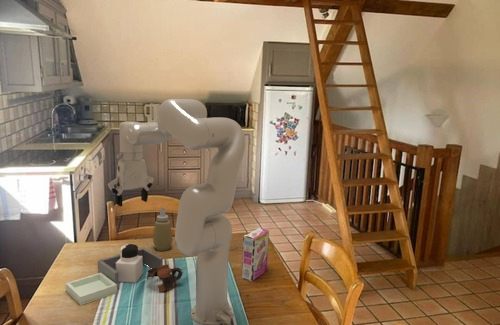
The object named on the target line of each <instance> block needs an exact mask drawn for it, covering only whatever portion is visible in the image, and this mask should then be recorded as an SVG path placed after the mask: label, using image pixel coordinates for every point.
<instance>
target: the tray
mask: <svg viewBox="0 0 500 325" xmlns="http://www.w3.org/2000/svg"><path fill="white" fill-rule="evenodd" d="M65 292H66V293H67V294H68V295H69V297H72V299H74V300H75V302H77V304H79V305H80V306H84V305H87V304H89V303H92V302H95V301H97V300H101V299H104V298H106V297H108V296H112V295H115V294H117V293H118V289H117V284H115V283H114V282H113V281H112V280H110V279H109V278H108V277H106V276H105V275H104V274H102V273H98V272H97V273H95V274H91V275H88V276H85V277H82V278H77V279H75V280H72V281H69V282H65Z"/></svg>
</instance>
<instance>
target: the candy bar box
mask: <svg viewBox="0 0 500 325" xmlns="http://www.w3.org/2000/svg"><path fill="white" fill-rule="evenodd" d="M269 234H270V230H269V229H265V228H259V227H258V228H256V229H254V230H252V231H250V232H248V233H246V234H245V235H243V239H242V256H241V257H242V260H241V262H242V263H241V279H244V280H246V281H249V282H254V281H255V280H256V279H258V278H259V277H260V276H261V275H262V274H264V273H265V272H266V271H267V270H268V253H269V236H270V235H269Z"/></svg>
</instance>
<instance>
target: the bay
mask: <svg viewBox="0 0 500 325" xmlns="http://www.w3.org/2000/svg"><path fill="white" fill-rule="evenodd" d="M138 256H142V257H143V263H144V264H146V265H148V266H149V267H150V268H152V269H153V268H156V267H159V266H163V265H164V263H163V262H164V260H163V259H164V258H163V257H161V256H159V255H158V254H156V253H154V252H153V251H150V250H149V249H147V248H145V247H142V248H138ZM119 259H120V254H117V255H112V256H109V257H106V258H103V259H98V260H97V273H102V274H104V275H105V276H106V277H108V278H109V279H110V280H112V281H113V282H114V283H115V284H117V290H120V289H119V287H120V286H119V285H120V284H119V281H118V272H117V271H116V262H117V261H118V260H119ZM144 264H143V265H144ZM149 267H148V268H149ZM150 268H149V269H150Z"/></svg>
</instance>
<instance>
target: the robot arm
mask: <svg viewBox="0 0 500 325" xmlns="http://www.w3.org/2000/svg"><path fill="white" fill-rule="evenodd" d="M173 140H176V141H177V142H178V143H180V144H181V145H182V146H184V148H186V149H189V150H191V151H203V150H210V149H217V152H215V154H214V155H213V157H212V159H211V160H210V163H209V165H208V169H207V176H206V179H205V181H204V182H203V183H198V184H195V185H192V186H189V187H187V188H186V189H185V190H184V191H183V193H182V194H181V196H180V199H179V204H178V209H177V217H176V223H175V230H174V242H175V245H176V248H177V250H178V251H179V253H180V254H182V255H184V256H186V257H187V256H188V257H191V256H196V255H197V256H196V261H195V263H196V264H195V305H194V306H193V307H192V308H191V311H190V317H191V320H192V321H194V323H197V324H199V325H221V324H224V323H225V324H227V325H229V324H230V323H231V322H232V318H234V317H235V313H234V312H233V310H232V307H231V306H230V304H229V303H228V291H229V290H228V288H229V287H228V286H229V285H228V283H229V282H228V281H229V280H228V279H229V278H228V277H229V276H228V275H229V255H230V246H231V243H232V239H233V238H232V237H233V225H232V223H231V221H230V219H229V218H228V217H227V216H226V215H224V213H227V212H229V211H230V210H231V209H232V206H233V204H234V201H235V200H234V199H235V194H236V189H237V183H238V178H239V174H240V173H239V172H240V169H241V164H242V161H243V158H244V154H245V151H246V137H245V133H244V131H243V128H242V126H241V125H240V124H239V123H238V122H237V121H236V120H233V119H231V118H228V117H208V111H207V108H206V106H205V104H204V103H203V102H201V101H200V100H197V99H192V98H169V99H166V100H164V101H163V102H162V103H161V104H160V105H159V106H158V110H157V117H156V122H155V121H153V122H151V121H150V122H140V121H130V120H129V121H127V120H126V121H122V122H120V124H119V153H118V154H116V158H117V159H119V160H118V163H117V166H116V167H117V168H116V178H114V179H113V180H111V181H110V182H108V183H107V186H108V188H109V190H110V192H112V193H113V194H114V195H115V196H114V197H115V204H116V205H117V206H118V207H123V195H122V193H123V192H124V191H127V190H128V191H129V190H136V189H141V193H140V196H141V198H140V199H141V201H142V202H145V203H147V202H148V198H149V196H148V195H149V194H148V193H149V191H150V188H151V187H152V186H153V183H154V180H155V178H154V177H152V176H151V175H148V171H147V164H146V161H145V159H143V146H147V145H158V144H160V145H161V144H164V143H167V142H169V141H173ZM115 185H116V188H115Z"/></svg>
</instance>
